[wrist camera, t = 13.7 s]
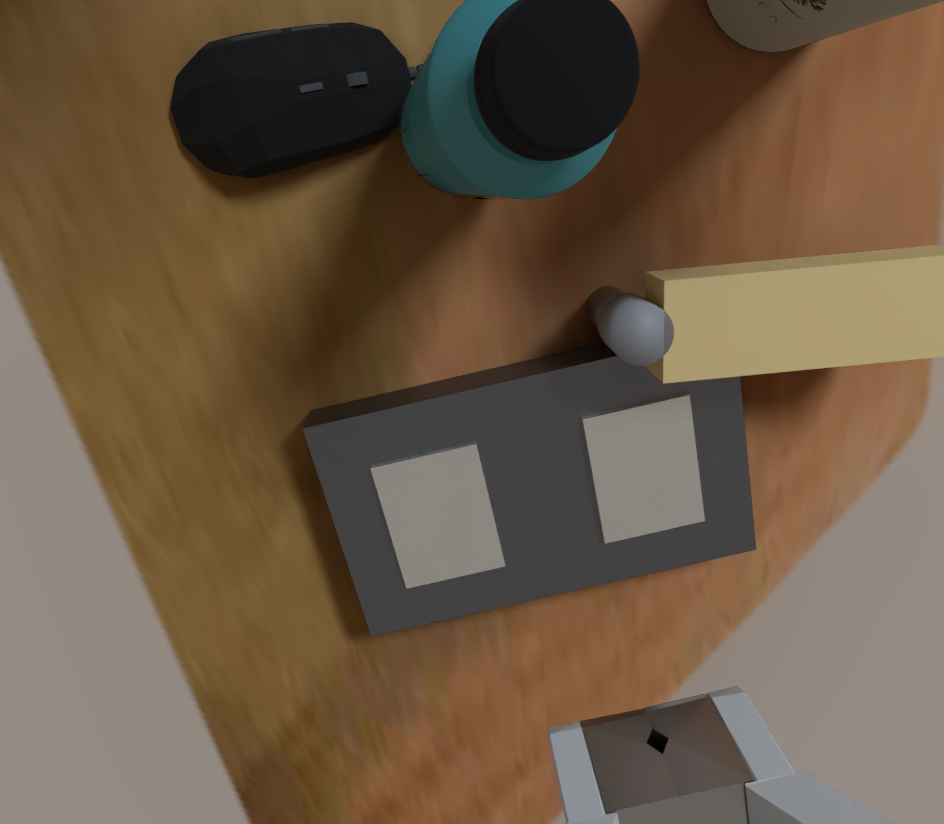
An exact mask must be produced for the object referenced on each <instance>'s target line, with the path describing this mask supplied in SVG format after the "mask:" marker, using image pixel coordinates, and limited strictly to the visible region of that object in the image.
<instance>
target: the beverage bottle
mask: <svg viewBox="0 0 944 824" xmlns="http://www.w3.org/2000/svg"><path fill="white" fill-rule="evenodd" d="M435 41H436V43H435V44H434V47H433V49H432V52H431V53H430V54H429V55H428V57H427V59H426V60H425V62H424V64H423V65H422V67H421V68H420V69H419V68H418V69H419V70H420V71H419V70H418V71H417V73H418V72H419V73H418V75H417V76H416V78H415V80H414V82H413V84H412V86H411V88H410V90H409V92H408V94H407V97H406V98H405V99H406V100H404V101H405V102H404V104H403V105H404V106H403V107H402V108H403V111H402V117H401V116H400V115H401V114H399V115H398V116H400V117H401V121H400V122H401V132H402V133H401V134H400V135H402V139H403V143H404V147H405V150H406V152H407V155H408V157H409V159H410V161H411V162H412V164H413V166H414V167H415V168H416V170H417V171H418V172H419V173H420V174H421V175H418V176H423V177H424V178H425V179H426V180H427V181H428V182H429V185H430V183H431V184H433V185H434V188H435V189H436V190H437V188H436V187H438V188H440V189H439V190H440V191H441V190H444V191H445V193H447V192H451V193H456V194H457V195H458V194H460V195H461V194H465V195H479V196H480V197H481V196H489V197H490V196H501V197H507V198H513V199H536V198H542V197H547V196H551V195H553V194H556V193H559V192H562V191H564V190H565V189H567V188H569V187H571V186H573V185H574V184H576V183H577V182H578V181H580V180H581V179H583V178H584V177H585V176H586V175H587V174H588V173H589V172H590V171H591V170H592V169H593V168H594V167H595V166H596V164H597V163H598V162H599V161H600V159H601V158H602V157H603V155H604V154H605V152H606V151H607V149H608V147H609V145H610V143H611V141H612V140H613V137H614V135H615V132H616V130H617V127H618V126H619V125H620V124H621V122H622V121H623V119H624V118H625V116H626V114H627V113H628V111H629V109H630V107H631V105H632V102H633V100H634V97H635V94H636V90H637V86H638V80H639V53H638V48H637V43H636V40H635V37H634V34H633V32H632V30H631V27H630V25H629V23H628V22H627V20H626V18H625V17H624V15H623V14H622V13H621V11H620V10H619V9H618V8H617V7H616V6H615V5H614V4H613V3H612V2H611V1H610V0H466V1H465V2H464V3H463V4H462V5H461V6H460V7H459V8H458V9H457V10H456V11H455V12H454V13H453V14H452V16H451V17H450V18H449V20H448V21H447V22H446V24H445V25H444V27H443V29H442V30H441V32H440V34H439V36H438V38H437V39H436V40H435ZM430 49H431V48H430ZM430 49H429V50H430ZM429 50H428V51H429ZM425 53H426V52H425ZM423 59H424V58H423ZM421 63H422V62H421ZM418 67H420V66H418ZM415 70H417V69H415ZM417 73H416V74H417ZM413 77H414V76H413ZM413 77H412V78H413ZM410 81H411V80H410ZM409 83H411V82H409ZM406 92H407V91H406ZM402 101H403V100H402ZM400 106H401V105H400ZM400 110H401V109H400ZM400 113H401V112H400ZM398 124H399V122H398ZM399 129H400V127H399ZM398 132H399V131H398ZM400 135H399V136H400ZM421 180H422V179H421ZM422 181H423V180H422ZM424 181H425V180H424ZM427 184H428V183H427ZM433 185H432V186H433ZM432 188H433V187H432ZM437 191H438V190H437ZM446 191H447V192H446ZM441 192H442V191H441ZM442 193H443V192H442ZM443 194H444V193H443ZM449 194H450V193H449ZM446 195H447V194H446ZM456 197H458V196H456ZM480 197H477V198H475V199H480V200H481V199H486V198H480ZM460 198H461V197H460ZM466 198H468V197H467V196H466ZM492 199H493V198H492ZM492 199H491V200H492ZM503 200H504V199H503Z"/></svg>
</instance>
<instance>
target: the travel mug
mask: <svg viewBox="0 0 944 824" xmlns="http://www.w3.org/2000/svg"><path fill="white" fill-rule="evenodd" d="M941 1H944V0H707V4H708V6H709V9H710V11H711V13H712V15H713V17H714V19H715V20H716V22H717V23H718V25H719V26H720V27H721V28H722V30H723V31H724V32H725V33H726V34H727V35H728V36H729V37H731V38H732V39H733V40H734V41H736V42H738V43H739V44H741V45H743V46H745V47H747V48H750V49H753V50H757V51H762V52H780V51H786V50H790V49H794V48H797V47H800V46H803V45H806V44H809V43H812V42H816V41H819V40H822V39H825V38H828V37H831V36H834V35H838V34H841V33H844V32H847V31H850V30H853V29H856V28H860V27H863V26H866V25H869V24H872V23H875V22H878V21H882V20H885V19H888V18H891V17H894V16H897V15H900V14H904V13H907V12H910V11H913V10H916V9H919V8H922V7H926V6H929V5H932V4H935V3H938V2H941Z"/></svg>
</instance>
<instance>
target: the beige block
mask: <svg viewBox="0 0 944 824" xmlns="http://www.w3.org/2000/svg"><path fill="white" fill-rule="evenodd" d="M597 326H598V332H599V335H600V337H601V339H602V340H603V341H604V342H605V343H606V344H607V345H608V346H609V347H610V348H611V349H612V350H613V351H614V352H615V353H616V354H617V355H618V356H619V357H620V358H621V359H622V360H623V361H624V362H626V363H628V364H631V365H635V366H645V367H646V368H647V369H648V370H649V371H650V372H651V373H652V374H653V375H654V376H656V377H657V378H658V379H659V380H660V381H661V382H662V383H663V384H664V383H674V382H685V381H695V380H705V379H716V378H726V377H737V376H747V375H757V374H768V373H778V372H789V371H799V370H809V369H820V368H830V367H840V366H851V365H861V364H872V363H882V362H892V361H903V360H913V359H924V358H934V357H944V247H943V246H937V245H932V246H921V247H910V248H900V249H889V250H878V251H867V252H856V253H845V254H834V255H823V256H812V257H801V258H790V259H779V260H768V261H757V262H746V263H735V264H724V265H713V266H702V267H691V268H680V269H669V270H658V271H647V272H645V298H643V297H642V296H640V295H637V294H633V293H624V294H620V295H617V296H615V297H613V298H611V299H610V300H609V301H608V302H607V303H606V304H605V305H604V306H603V308H602V309H601V311H600V313H599V316H598V322H597Z"/></svg>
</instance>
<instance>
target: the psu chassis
mask: <svg viewBox="0 0 944 824" xmlns="http://www.w3.org/2000/svg"><path fill="white" fill-rule="evenodd" d="M620 294H624V292H623V291H621V290H620V289H618V288H616V287H612V286H606V287H602V288H599V289H597V290H596V291H595V292H594V293H593V294H592V295H591V296H590V298H589V300H588V302H587V307H586V310H587V315H588V318H589V319H590V321H591V322H592V323H593V324H594V325H595V326H596V327H597V328H598V326H597V322H598V316H599V313H600V311H601V309H602V308H603V306H604V305H605V304H606V303H607V302H608V301H609V300H610V299H611V298H613V297H615V296H617V295H620ZM303 432H304V435H305V438H306V441H307V444H308V447H309V450H310V453H311V456H312V459H313V462H314V465H315V468H316V471H317V474H318V477H319V480H320V483H321V486H322V489H323V492H324V495H325V498H326V501H327V504H328V507H329V510H330V513H331V516H332V519H333V522H334V526H335V529H336V532H337V535H338V538H339V541H340V544H341V547H342V550H343V553H344V556H345V559H346V562H347V565H348V568H349V571H350V574H351V577H352V580H353V583H354V586H355V589H356V592H357V595H358V598H359V601H360V604H361V607H362V610H363V613H364V616H365V619H366V622H367V625H368V628H369V632H370V635H371V637H372V636H376V635H381V634H385V633H389V632H394V631H398V630H403V629H407V628H412V627H416V626H420V625H425V624H429V623H434V622H438V621H443V620H447V619H451V618H456V617H460V616H465V615H469V614H473V613H478V612H482V611H487V610H491V609H496V608H500V607H504V606H509V605H513V604H518V603H522V602H527V601H531V600H535V599H540V598H544V597H549V596H553V595H557V594H562V593H566V592H571V591H575V590H580V589H584V588H588V587H593V586H597V585H602V584H606V583H611V582H615V581H619V580H624V579H628V578H633V577H637V576H642V575H646V574H650V573H655V572H659V571H664V570H668V569H672V568H677V567H681V566H686V565H690V564H695V563H699V562H703V561H708V560H712V559H717V558H721V557H726V556H730V555H734V554H739V553H743V552H748V551H752V550H756V541H755V531H754V520H753V509H752V499H751V488H750V477H749V467H748V456H747V445H746V435H745V424H744V413H743V403H742V392H741V381H740V376H737V377H726V378H716V379H705V380H695V381H685V382H674V383H664V384H663V383H662V382H661V381H660V380H659V379H658V378H657V377H656V376H654V375H653V374H652V373H651V372H650V371H649V370H648V369H647V368H646V367H645V366H635V365H631V364H628V363H626V362H624V361H623V360H622V359H621V358H620V357H619V356H618V355H617V354H616V353H615V352H614V351H613V350H612V349H611V348H610V347H609V346H608V345H607V344H606V343H600V344H596V345H592V346H587V347H583V348H579V349H574V350H570V351H566V352H561V353H557V354H553V355H549V356H544V357H540V358H536V359H531V360H527V361H523V362H518V363H514V364H510V365H505V366H501V367H497V368H492V369H488V370H484V371H480V372H475V373H471V374H467V375H462V376H458V377H454V378H449V379H445V380H441V381H436V382H432V383H428V384H424V385H419V386H415V387H411V388H406V389H402V390H398V391H393V392H389V393H385V394H380V395H376V396H372V397H368V398H363V399H359V400H355V401H350V402H346V403H342V404H337V405H333V406H329V407H324V408H320V409H316V410H311V412H310V414H309V416H308V418H307V421H306V423H305V425H304V427H303Z"/></svg>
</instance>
